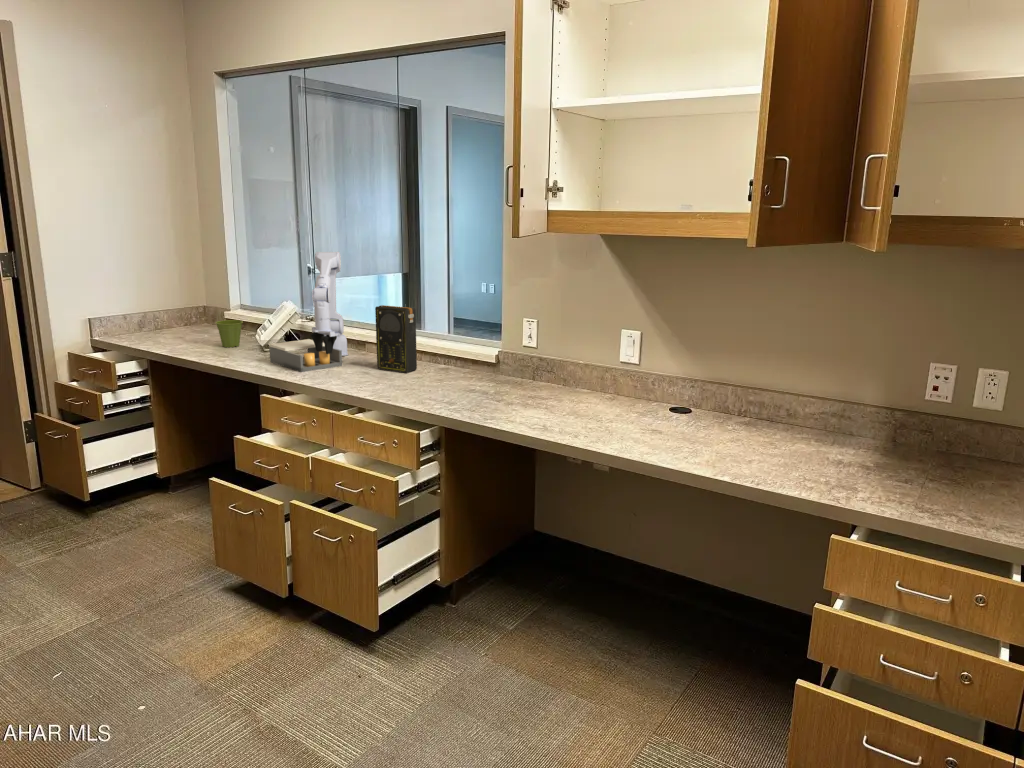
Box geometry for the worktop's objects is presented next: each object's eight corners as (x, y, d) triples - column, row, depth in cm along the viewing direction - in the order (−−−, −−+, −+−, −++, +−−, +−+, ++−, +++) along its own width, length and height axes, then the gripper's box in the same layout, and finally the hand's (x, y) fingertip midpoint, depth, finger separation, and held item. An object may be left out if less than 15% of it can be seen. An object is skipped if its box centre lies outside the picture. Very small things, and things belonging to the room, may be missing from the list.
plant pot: (219, 349, 324) (217, 324, 322) (215, 345, 334) (213, 321, 332) (247, 347, 330) (245, 322, 327) (242, 343, 340) (240, 319, 337)
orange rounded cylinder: (312, 367, 289) (311, 352, 288) (317, 368, 286) (316, 353, 285) (303, 368, 287) (302, 353, 286) (307, 370, 284) (306, 354, 283)
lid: (309, 343, 309) (309, 339, 309) (326, 348, 300) (326, 343, 299) (269, 348, 297) (269, 343, 297) (285, 353, 287) (285, 348, 287)
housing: (310, 356, 311) (309, 341, 309) (342, 365, 292) (341, 350, 291) (270, 361, 299) (269, 346, 297) (301, 372, 280) (300, 356, 279)
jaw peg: (326, 365, 294) (326, 350, 292) (332, 366, 291) (331, 351, 290) (317, 366, 291) (317, 351, 290) (323, 367, 288) (322, 353, 287)
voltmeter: (374, 369, 286) (372, 306, 280) (388, 365, 293) (386, 304, 288) (406, 374, 278) (404, 309, 273) (419, 370, 286) (418, 306, 280)
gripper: (304, 317, 289) (306, 350, 292) (322, 321, 279) (324, 356, 282) (320, 315, 294) (321, 348, 297) (338, 319, 284) (340, 353, 287)
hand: (324, 352), depth 290 cm, fingers open, 7 cm apart
